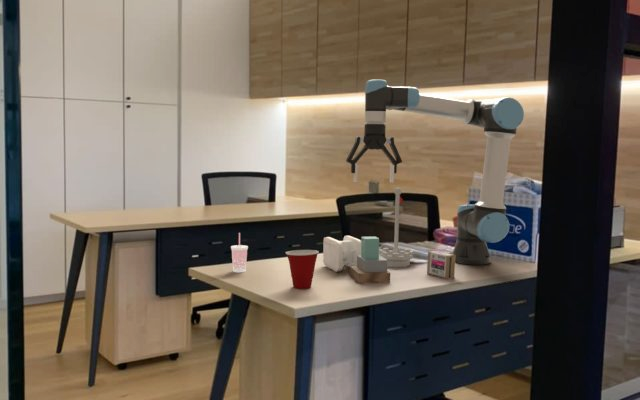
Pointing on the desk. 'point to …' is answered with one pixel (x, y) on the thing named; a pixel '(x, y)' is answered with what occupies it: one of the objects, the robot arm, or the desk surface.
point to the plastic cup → (302, 267)
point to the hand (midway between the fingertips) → (373, 182)
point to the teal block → (370, 247)
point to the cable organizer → (341, 252)
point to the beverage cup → (239, 257)
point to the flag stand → (395, 255)
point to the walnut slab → (368, 276)
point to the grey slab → (372, 264)
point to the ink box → (441, 264)
